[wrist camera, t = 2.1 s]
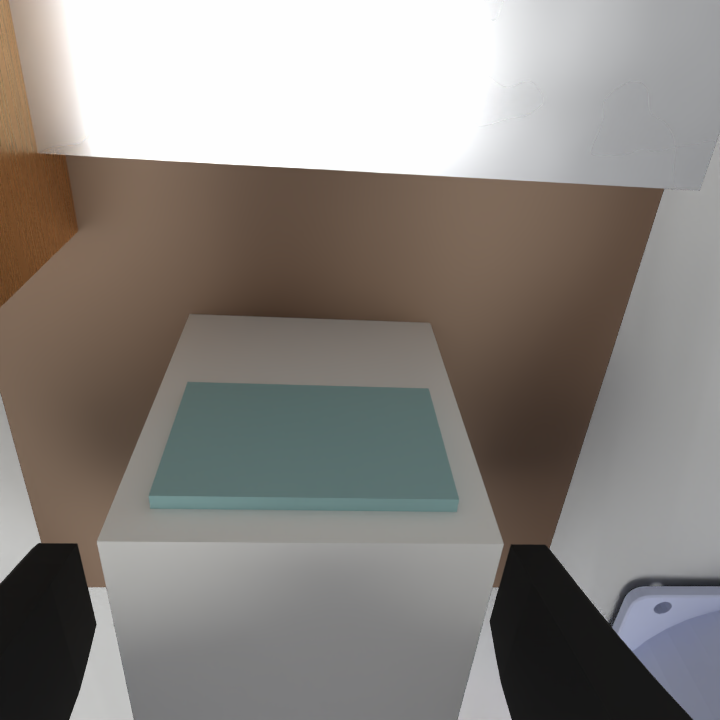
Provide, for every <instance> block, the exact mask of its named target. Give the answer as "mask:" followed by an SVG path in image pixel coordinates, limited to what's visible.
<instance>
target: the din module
mask: <svg viewBox="0 0 720 720" xmlns="http://www.w3.org/2000/svg"><path fill="white" fill-rule="evenodd" d="M97 545H98V550H99V555H100V560H101V565H102V569H103V574H104V579H105V584H106V589H107V593H108V598H109V603H110V608H111V613H112V617H113V622H114V627H115V632H116V636H117V641H118V646H119V651H120V656H121V660H122V665H123V670H124V675H125V680H126V684H127V689H128V694H129V699H130V703H131V708H132V713H133V718H134V720H458V716H459V712H460V708H461V705H462V701H463V697H464V693H465V689H466V686H467V682H468V678H469V674H470V670H471V667H472V663H473V659H474V655H475V652H476V648H477V644H478V640H479V636H480V633H481V629H482V625H483V621H484V617H485V614H486V610H487V606H488V602H489V599H490V595H491V591H492V587H493V583H494V580H495V576H496V572H497V568H498V564H499V561H500V557H501V553H502V549H503V546H504V543H503V540H502V537H501V534H500V531H499V528H498V525H497V522H496V519H495V516H494V513H493V510H492V507H491V504H490V501H489V498H488V495H487V492H486V489H485V486H484V483H483V480H482V477H481V474H480V471H479V468H478V465H477V462H476V459H475V456H474V453H473V450H472V447H471V444H470V441H469V438H468V435H467V432H466V429H465V426H464V423H463V420H462V417H461V414H460V411H459V408H458V405H457V402H456V399H455V396H454V393H453V390H452V387H451V384H450V381H449V378H448V375H447V372H446V369H445V366H444V363H443V360H442V357H441V354H440V351H439V348H438V345H437V342H436V339H435V336H434V333H433V330H432V327H431V324H430V323H421V322H393V321H366V320H338V319H310V318H283V317H255V316H228V315H200V314H189V317H188V319H187V322H186V324H185V327H184V329H183V331H182V334H181V336H180V339H179V341H178V344H177V346H176V349H175V351H174V354H173V356H172V358H171V361H170V363H169V366H168V368H167V371H166V373H165V376H164V378H163V380H162V383H161V385H160V388H159V390H158V393H157V395H156V398H155V400H154V402H153V405H152V407H151V410H150V412H149V415H148V417H147V420H146V422H145V424H144V427H143V429H142V432H141V434H140V437H139V439H138V442H137V444H136V447H135V449H134V451H133V454H132V456H131V459H130V461H129V464H128V466H127V469H126V471H125V473H124V476H123V478H122V481H121V483H120V486H119V488H118V491H117V493H116V495H115V498H114V500H113V503H112V505H111V508H110V510H109V513H108V515H107V517H106V520H105V522H104V525H103V527H102V530H101V532H100V535H99V537H98V540H97Z"/></svg>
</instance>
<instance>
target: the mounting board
mask: <svg viewBox="0 0 720 720" xmlns="http://www.w3.org/2000/svg"><path fill="white" fill-rule="evenodd" d="M66 161H67V167H68V173H69V179H70V185H71V191H72V197H73V202H74V208H75V214H76V220H77V226H78V232H77V233H76V234H75V235H74V236H73V237H72V238H71V239H70V240H69V241H68V242H67V243H66V244H65V245H64V246H63V247H62V248H61V249H60V250H59V251H58V252H57V253H56V254H54V255H53V256H52V257H51V258H50V259H49V260H48V261H47V262H46V263H45V264H44V265H43V266H42V267H41V268H40V269H39V270H38V271H37V272H36V273H35V274H34V275H33V276H32V277H31V278H30V279H29V280H28V281H27V282H26V283H25V284H24V285H23V286H22V287H21V288H20V289H19V290H18V291H17V292H16V293H15V294H14V295H13V296H12V297H11V298H10V299H9V300H8V301H7V302H5V303H4V304H3V305H2V306H1V307H0V393H1V397H2V400H3V404H4V407H5V411H6V415H7V418H8V422H9V426H10V429H11V433H12V437H13V440H14V444H15V448H16V451H17V455H18V459H19V462H20V466H21V470H22V473H23V477H24V481H25V484H26V488H27V492H28V495H29V499H30V503H31V506H32V510H33V514H34V517H35V521H36V525H37V528H38V532H39V536H40V539H41V543H78V548H79V552H80V556H81V561H82V565H83V569H84V573H85V578H86V582H87V586H88V587H106V584H105V579H104V574H103V569H102V565H101V560H100V555H99V550H98V545H97V540H98V537H99V535H100V532H101V530H102V527H103V525H104V522H105V520H106V517H107V515H108V513H109V510H110V508H111V505H112V503H113V500H114V498H115V495H116V493H117V491H118V488H119V486H120V483H121V481H122V478H123V476H124V473H125V471H126V469H127V466H128V464H129V461H130V459H131V456H132V454H133V451H134V449H135V447H136V444H137V442H138V439H139V437H140V434H141V432H142V429H143V427H144V424H145V422H146V420H147V417H148V415H149V412H150V410H151V407H152V405H153V402H154V400H155V398H156V395H157V393H158V390H159V388H160V385H161V383H162V380H163V378H164V376H165V373H166V371H167V368H168V366H169V363H170V361H171V358H172V356H173V354H174V351H175V349H176V346H177V344H178V341H179V339H180V336H181V334H182V331H183V329H184V327H185V324H186V322H187V319H188V317H189V314H200V315H228V316H255V317H283V318H310V319H338V320H366V321H393V322H421V323H430V324H431V327H432V330H433V333H434V336H435V339H436V342H437V345H438V348H439V351H440V354H441V357H442V360H443V363H444V366H445V369H446V372H447V375H448V378H449V381H450V384H451V387H452V390H453V393H454V396H455V399H456V402H457V405H458V408H459V411H460V414H461V417H462V420H463V423H464V426H465V429H466V432H467V435H468V438H469V441H470V444H471V447H472V450H473V453H474V456H475V459H476V462H477V465H478V468H479V471H480V474H481V477H482V480H483V483H484V486H485V489H486V492H487V495H488V498H489V501H490V504H491V507H492V510H493V513H494V516H495V519H496V522H497V525H498V528H499V531H500V534H501V537H502V540H503V543H504V546H503V549H502V553H501V557H500V561H499V564H498V568H497V572H496V576H495V580H494V583H493V587H499V585H500V582H501V578H502V575H503V571H504V567H505V564H506V560H507V556H508V553H509V549H510V545H511V544H535V545H546V546H547V547H548V548H550V545H551V542H552V539H553V536H554V533H555V529H556V526H557V523H558V520H559V517H560V514H561V511H562V507H563V504H564V501H565V498H566V495H567V492H568V489H569V486H570V482H571V479H572V476H573V473H574V470H575V467H576V464H577V460H578V457H579V454H580V451H581V448H582V445H583V442H584V438H585V435H586V432H587V429H588V426H589V423H590V420H591V416H592V413H593V410H594V407H595V404H596V401H597V398H598V395H599V391H600V388H601V385H602V382H603V379H604V376H605V373H606V369H607V366H608V363H609V360H610V357H611V354H612V351H613V347H614V344H615V341H616V338H617V335H618V332H619V329H620V326H621V322H622V319H623V316H624V313H625V310H626V307H627V304H628V300H629V297H630V294H631V291H632V288H633V285H634V282H635V278H636V275H637V272H638V269H639V266H640V263H641V260H642V256H643V253H644V250H645V247H646V244H647V241H648V238H649V235H650V231H651V228H652V225H653V222H654V219H655V216H656V213H657V209H658V206H659V203H660V200H661V197H662V194H663V191H664V189H663V188H645V187H627V186H609V185H592V184H574V183H556V182H538V181H520V180H503V179H485V178H467V177H449V176H432V175H414V174H396V173H378V172H361V171H343V170H325V169H307V168H290V167H272V166H254V165H236V164H218V163H201V162H183V161H165V160H147V159H130V158H112V157H94V156H76V155H66Z"/></svg>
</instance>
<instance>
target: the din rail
mask: <svg viewBox="0 0 720 720" xmlns="http://www.w3.org/2000/svg"><path fill="white" fill-rule="evenodd" d="M719 133H720V0H0V307H1V306H2V305H3V304H4V303H5V302H7V301H8V300H9V299H10V298H11V297H12V296H13V295H14V294H15V293H16V292H17V291H18V290H19V289H20V288H21V287H22V286H23V285H24V284H25V283H26V282H27V281H28V280H29V279H30V278H31V277H32V276H33V275H34V274H35V273H36V272H37V271H38V270H39V269H40V268H41V267H42V266H43V265H44V264H45V263H46V262H47V261H48V260H49V259H50V258H51V257H52V256H53V255H54V254H56V253H57V252H58V251H59V250H60V249H61V248H62V247H63V246H64V245H65V244H66V243H67V242H68V241H69V240H70V239H71V238H72V237H73V236H74V235H75V234H76V233H77V232H78V226H77V220H76V214H75V208H74V202H73V197H72V191H71V185H70V179H69V173H68V167H67V161H66V155H76V156H94V157H112V158H130V159H147V160H165V161H183V162H201V163H218V164H236V165H254V166H272V167H290V168H307V169H325V170H343V171H361V172H378V173H396V174H414V175H432V176H449V177H467V178H485V179H503V180H520V181H538V182H556V183H574V184H592V185H609V186H627V187H645V188H663V189H680V190H698V191H700V188H701V185H702V182H703V179H704V176H705V173H706V171H707V168H708V165H709V162H710V159H711V156H712V153H713V151H714V148H715V145H716V142H717V139H718V136H719Z"/></svg>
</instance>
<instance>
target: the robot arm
mask: <svg viewBox="0 0 720 720" xmlns="http://www.w3.org/2000/svg"><path fill="white" fill-rule="evenodd" d="M490 626H491V631H492V637H493V643H494V649H495V654H496V660H497V665H498V670H499V675H500V680H501V684H502V688H503V691H504V695H505V698H506V702H507V705H508V708H509V712H510V715H511V719H512V720H720V586H643V587H638V588H635V589H633V590H631V591H630V592H629V593H628V594H627V595H626V597H625V599H624V601H623V603H622V605H621V608H620V610H619V612H618V615H617V617H616V619H615V622H614V624H613V626H612V627H611V626H610V625H609V623H608V622H607V621H606V620H605V618H604V617H603V616H602V615H601V614H600V612H599V611H598V610H597V609H596V607H595V606H594V605H593V604H592V602H591V601H590V600H589V599H588V597H587V596H586V595H585V594H584V592H583V591H582V590H581V589H580V587H579V586H578V585H577V584H576V582H575V581H574V580H573V578H572V577H571V576H570V575H569V573H568V572H567V571H566V570H565V568H564V567H563V566H562V564H561V563H560V562H559V561H558V559H557V558H556V557H555V556H554V554H553V553H552V552H551V550H550V549H549V548H548V547H547V546H546V545H535V544H511V545H510V549H509V553H508V556H507V560H506V564H505V567H504V571H503V575H502V578H501V582H500V585H499V589H498V593H497V596H496V600H495V604H494V607H493V611H492V615H491V618H490ZM95 628H96V620H95V616H94V612H93V608H92V603H91V599H90V595H89V590H88V586H87V582H86V578H85V573H84V569H83V565H82V561H81V556H80V552H79V548H78V543H38V544H37V545H36V546H35V547H34V548H32V549H31V551H30V552H29V553H28V554H27V555H26V556H25V557H24V558H23V559H22V560H21V561H20V563H19V564H18V565H17V566H16V567H15V568H14V569H13V570H12V571H11V572H10V574H9V575H8V576H7V577H6V578H5V579H4V580H3V581H2V582H1V583H0V720H69V718H70V716H71V713H72V710H73V708H74V705H75V702H76V699H77V697H78V694H79V691H80V688H81V684H82V680H83V676H84V673H85V669H86V665H87V661H88V657H89V653H90V649H91V645H92V641H93V637H94V633H95Z"/></svg>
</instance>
